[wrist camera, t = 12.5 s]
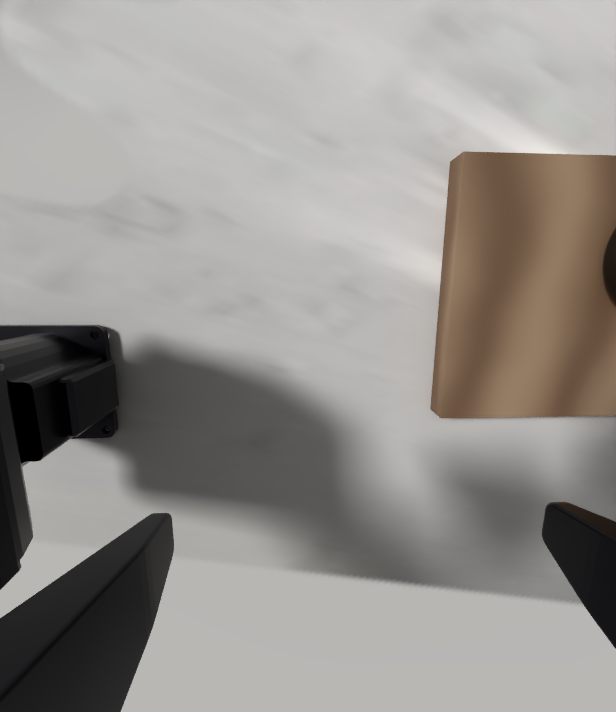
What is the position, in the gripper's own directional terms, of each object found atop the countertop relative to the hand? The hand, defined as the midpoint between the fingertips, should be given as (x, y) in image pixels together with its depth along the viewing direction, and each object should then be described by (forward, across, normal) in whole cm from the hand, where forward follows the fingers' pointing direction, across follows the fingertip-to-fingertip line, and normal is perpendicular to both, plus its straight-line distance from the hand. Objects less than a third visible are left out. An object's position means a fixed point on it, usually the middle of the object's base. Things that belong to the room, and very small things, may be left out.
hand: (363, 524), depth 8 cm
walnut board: (+13, -15, -5) cm, 20 cm away
